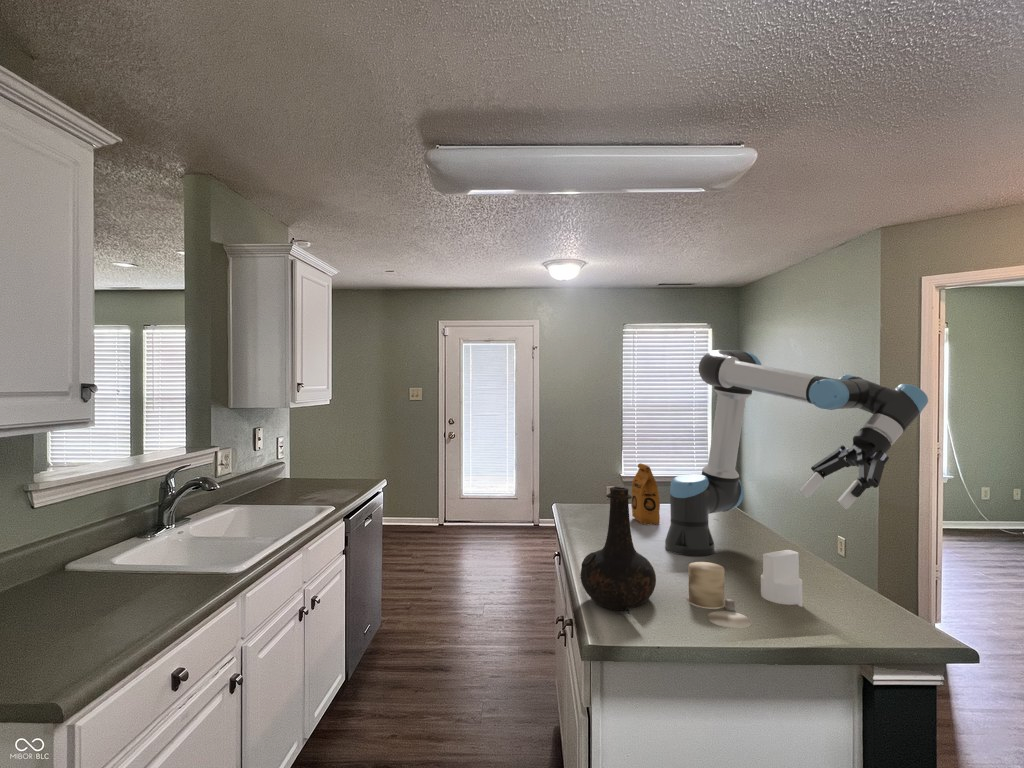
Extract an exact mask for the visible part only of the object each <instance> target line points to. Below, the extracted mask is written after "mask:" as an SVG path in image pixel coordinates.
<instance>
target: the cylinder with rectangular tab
mask: <svg viewBox="0 0 1024 768" xmlns="http://www.w3.org/2000/svg"><path fill="white" fill-rule="evenodd" d="M799 557H800V553H799V552H798V551H796V550H795V551H794V550H792V549H791V550H790V549H785V550H778V551H771V552H765V553H763V554H762V567H763V568H762V571H763V572H762V573H761V575H760V596H761V597H762V598H763V599H764V600H767V601H769V602H771V603H775V604H779V605H786V606H787V605H788V606H790V605H793V606H794V605H797V606H799V607H801V608H803V579H802V578H800V565H799V564H800V560H799V559H800V558H799Z"/></svg>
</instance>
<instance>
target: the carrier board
mask: <svg viewBox="0 0 1024 768" xmlns="http://www.w3.org/2000/svg"><path fill="white" fill-rule="evenodd" d="M686 601H687V602H688V603H689V604H690V605H692V606H694V607H698V608H703V609H711V610H714V611H711V612H709V613H708V614H707V620H708V621H709V622H711V623H712V624H714V625H717V626H720V627H724V628H728V629H746V628H748V627H750V626H752V624H753V621H752V620H751V619H750V618H749V617H747V615H744V614H741V613H738V612H735V607H736V605H735V600H734V599H730V598H725V604H724V605H723V606H721V607H717V608H708V607H701V606H698V605H695V604H693V603H691V602H690V601H689V595H688V596H687V597H686ZM723 608H724V609H725V610H717V609H723ZM715 610H716V611H715Z"/></svg>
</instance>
